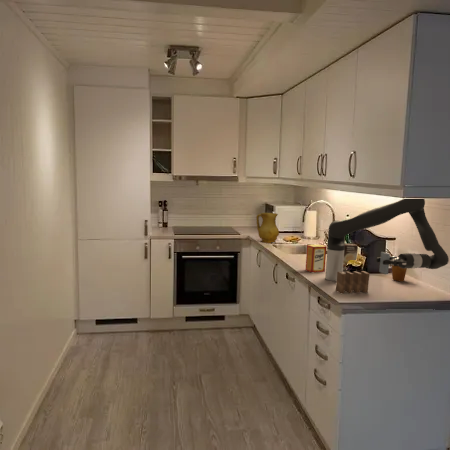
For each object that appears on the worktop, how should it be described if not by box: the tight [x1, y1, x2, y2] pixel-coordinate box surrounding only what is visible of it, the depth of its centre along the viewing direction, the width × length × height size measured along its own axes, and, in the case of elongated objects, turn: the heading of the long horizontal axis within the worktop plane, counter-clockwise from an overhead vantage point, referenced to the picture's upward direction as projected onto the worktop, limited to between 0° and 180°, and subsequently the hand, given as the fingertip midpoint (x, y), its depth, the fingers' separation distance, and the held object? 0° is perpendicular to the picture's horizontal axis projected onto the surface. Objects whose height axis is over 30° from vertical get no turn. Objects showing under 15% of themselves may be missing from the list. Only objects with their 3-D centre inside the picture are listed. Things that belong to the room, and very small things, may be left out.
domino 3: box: [352, 270, 361, 294], centre depth 220 cm, size 2×5×10 cm, turn 14°
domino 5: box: [378, 251, 391, 275], centre depth 212 cm, size 2×5×10 cm, turn 14°
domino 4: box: [360, 270, 370, 294], centre depth 221 cm, size 2×5×10 cm, turn 14°
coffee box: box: [343, 243, 359, 271], centre depth 270 cm, size 9×6×16 cm
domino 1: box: [335, 272, 345, 294], centre depth 217 cm, size 2×5×10 cm, turn 14°
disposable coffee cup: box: [391, 265, 408, 282], centre depth 248 cm, size 10×10×12 cm
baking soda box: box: [305, 244, 328, 273], centre depth 262 cm, size 10×6×16 cm
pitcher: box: [256, 212, 280, 244], centre depth 365 cm, size 17×19×25 cm
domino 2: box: [344, 270, 353, 294], centre depth 218 cm, size 2×5×10 cm, turn 14°
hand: (380, 261), depth 211 cm, fingers closed on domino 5, 5 cm apart
